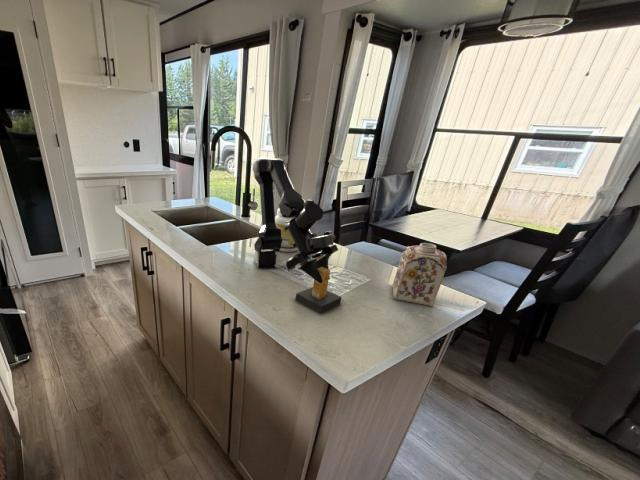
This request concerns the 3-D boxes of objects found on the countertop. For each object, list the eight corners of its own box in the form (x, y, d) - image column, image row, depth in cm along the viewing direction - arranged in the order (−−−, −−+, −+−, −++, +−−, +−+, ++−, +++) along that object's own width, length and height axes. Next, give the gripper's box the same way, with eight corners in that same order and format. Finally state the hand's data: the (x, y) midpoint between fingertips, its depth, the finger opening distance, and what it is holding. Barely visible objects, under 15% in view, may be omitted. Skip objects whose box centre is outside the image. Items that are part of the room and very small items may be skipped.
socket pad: (295, 300, 103) (296, 293, 102) (315, 292, 109) (316, 285, 108) (320, 313, 97) (321, 306, 96) (340, 304, 103) (341, 297, 102)
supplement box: (317, 294, 105) (322, 266, 100) (325, 299, 102) (331, 270, 98) (310, 297, 103) (315, 268, 98) (318, 302, 101) (324, 272, 96)
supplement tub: (300, 253, 141) (306, 214, 133) (272, 252, 141) (276, 212, 133) (296, 244, 152) (301, 207, 144) (270, 242, 152) (274, 206, 144)
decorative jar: (432, 307, 103) (453, 253, 95) (393, 299, 107) (409, 247, 98) (427, 291, 113) (445, 241, 105) (392, 285, 117) (406, 236, 108)
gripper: (298, 227, 88) (324, 278, 87) (339, 218, 99) (362, 263, 97) (275, 246, 97) (298, 293, 96) (314, 235, 108) (335, 277, 106)
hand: (324, 281), depth 99 cm, fingers closed on supplement box, 3 cm apart
